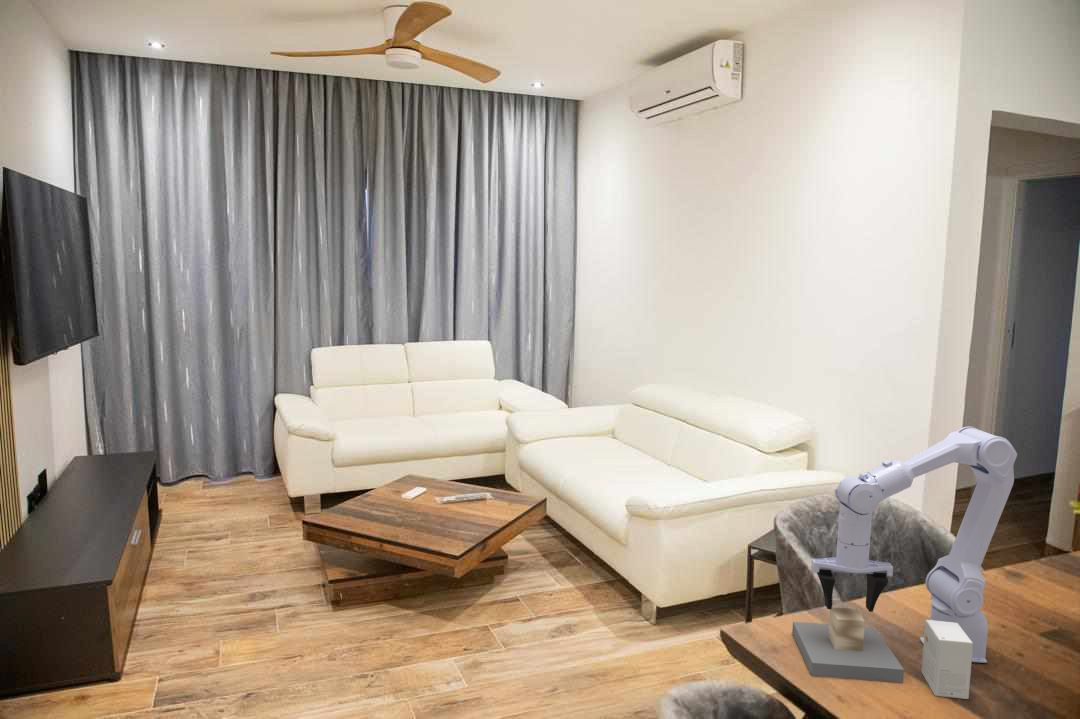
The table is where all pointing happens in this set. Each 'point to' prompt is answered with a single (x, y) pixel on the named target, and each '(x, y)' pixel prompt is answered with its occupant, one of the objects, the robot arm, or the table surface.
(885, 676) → the slate plinth
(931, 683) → the small box
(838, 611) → the maple block
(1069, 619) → the table surface
